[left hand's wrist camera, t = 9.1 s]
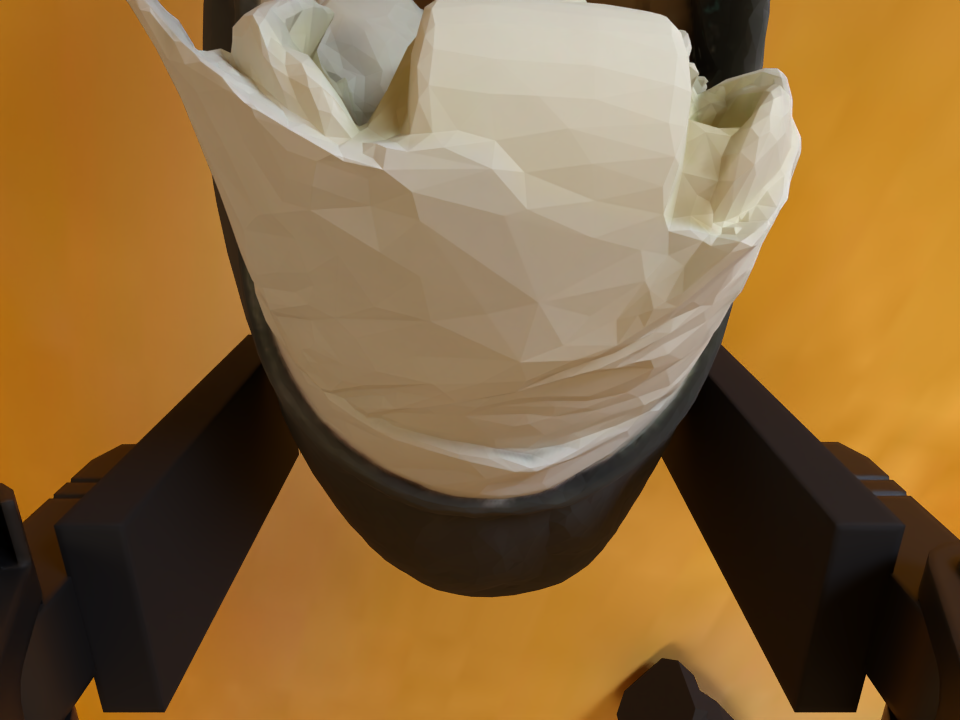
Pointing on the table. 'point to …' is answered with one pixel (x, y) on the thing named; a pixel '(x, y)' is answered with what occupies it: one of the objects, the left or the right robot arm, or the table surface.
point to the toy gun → (668, 696)
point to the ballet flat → (486, 248)
